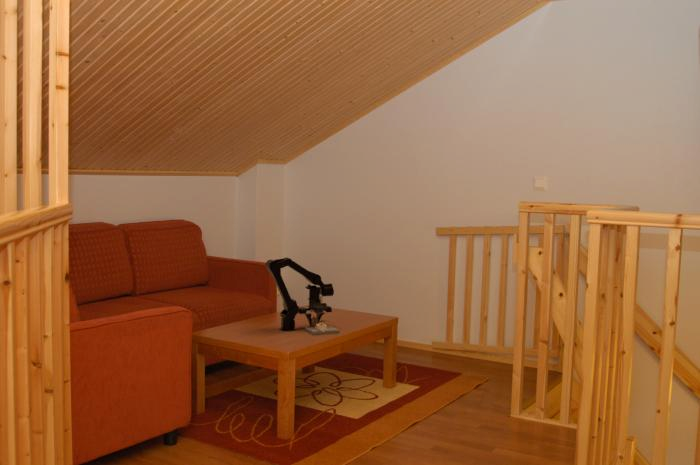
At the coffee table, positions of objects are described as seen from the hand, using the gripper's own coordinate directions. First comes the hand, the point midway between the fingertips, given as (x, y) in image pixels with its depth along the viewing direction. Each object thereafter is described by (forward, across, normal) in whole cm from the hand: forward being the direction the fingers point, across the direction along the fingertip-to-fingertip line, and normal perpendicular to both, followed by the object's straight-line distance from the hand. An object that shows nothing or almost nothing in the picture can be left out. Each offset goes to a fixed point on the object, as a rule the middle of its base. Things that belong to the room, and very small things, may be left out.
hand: (313, 325), depth 422 cm
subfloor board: (+1, 0, -11) cm, 11 cm away
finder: (0, -1, -14) cm, 14 cm away
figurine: (+1, +10, +16) cm, 19 cm away
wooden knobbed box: (+1, 0, 0) cm, 1 cm away
